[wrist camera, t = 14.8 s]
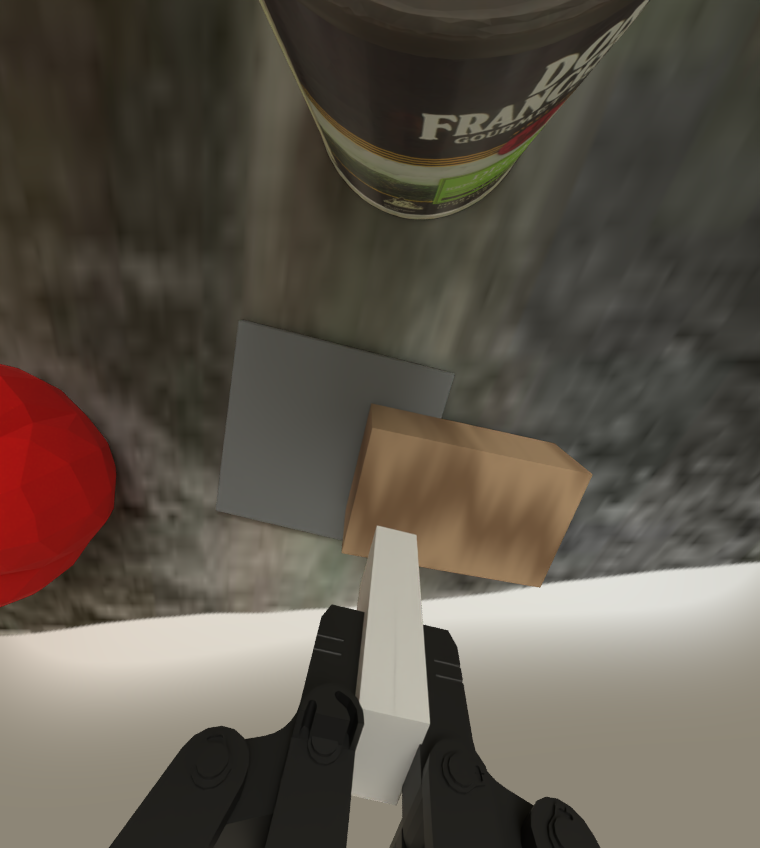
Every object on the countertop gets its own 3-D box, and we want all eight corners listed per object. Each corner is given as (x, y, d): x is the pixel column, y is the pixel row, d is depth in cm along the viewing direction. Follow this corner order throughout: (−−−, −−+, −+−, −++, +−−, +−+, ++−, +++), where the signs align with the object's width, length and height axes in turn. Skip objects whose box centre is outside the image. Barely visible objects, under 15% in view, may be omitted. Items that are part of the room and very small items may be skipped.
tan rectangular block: (372, 427, 17) (592, 474, 19) (371, 403, 21) (554, 443, 22) (341, 553, 20) (540, 587, 21) (345, 510, 23) (513, 541, 25)
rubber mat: (242, 319, 21) (238, 320, 20) (453, 373, 21) (454, 374, 21) (220, 505, 25) (215, 510, 24) (398, 548, 25) (399, 554, 25)
